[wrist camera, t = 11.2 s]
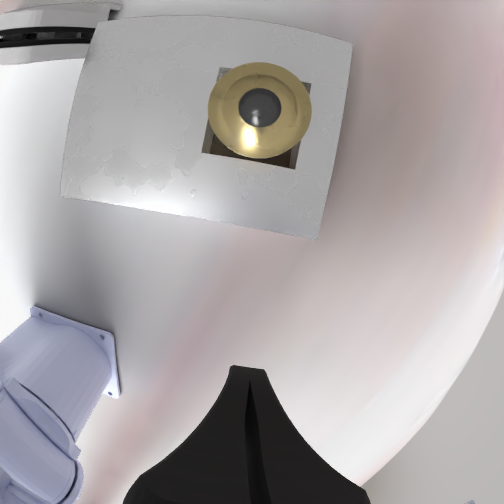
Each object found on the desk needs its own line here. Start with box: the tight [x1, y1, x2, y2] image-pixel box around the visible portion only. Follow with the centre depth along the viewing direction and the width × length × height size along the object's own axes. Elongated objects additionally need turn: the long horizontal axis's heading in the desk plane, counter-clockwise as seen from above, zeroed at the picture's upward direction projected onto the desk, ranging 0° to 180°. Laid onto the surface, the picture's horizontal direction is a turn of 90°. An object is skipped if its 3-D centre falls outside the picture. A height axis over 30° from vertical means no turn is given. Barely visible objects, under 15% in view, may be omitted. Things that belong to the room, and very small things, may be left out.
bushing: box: [208, 62, 312, 158], centre depth 14 cm, size 4×4×6 cm
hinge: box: [0, 3, 122, 65], centre depth 10 cm, size 17×5×10 cm, turn 66°
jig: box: [60, 15, 353, 240], centre depth 15 cm, size 16×12×3 cm
